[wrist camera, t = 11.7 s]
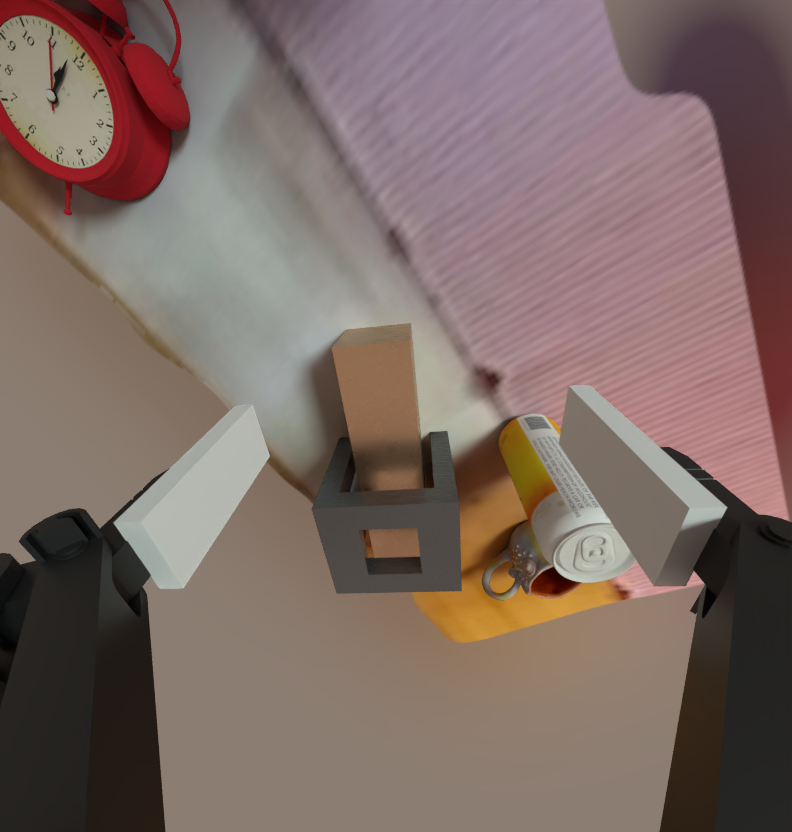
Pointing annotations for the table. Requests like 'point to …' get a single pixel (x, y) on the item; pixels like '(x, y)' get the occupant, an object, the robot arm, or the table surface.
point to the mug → (528, 569)
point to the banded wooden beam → (382, 420)
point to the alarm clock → (87, 97)
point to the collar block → (390, 527)
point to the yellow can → (561, 504)
